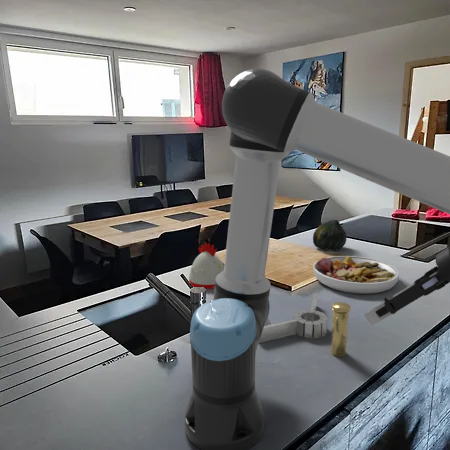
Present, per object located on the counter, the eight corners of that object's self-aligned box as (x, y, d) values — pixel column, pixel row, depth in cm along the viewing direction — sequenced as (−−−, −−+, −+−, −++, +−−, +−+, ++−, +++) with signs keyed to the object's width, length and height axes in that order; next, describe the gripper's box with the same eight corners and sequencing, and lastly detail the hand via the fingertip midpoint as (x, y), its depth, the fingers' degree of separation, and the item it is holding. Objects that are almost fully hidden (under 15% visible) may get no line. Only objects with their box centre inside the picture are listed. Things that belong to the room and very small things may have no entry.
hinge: (324, 352, 100) (324, 338, 99) (256, 342, 105) (256, 329, 104) (329, 307, 126) (330, 295, 125) (274, 301, 131) (275, 289, 130)
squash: (305, 233, 193) (317, 215, 182) (332, 232, 198) (345, 214, 186) (314, 258, 186) (328, 241, 174) (342, 256, 190) (357, 239, 178)
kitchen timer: (210, 292, 139) (209, 251, 136) (181, 283, 147) (180, 244, 144) (233, 280, 150) (233, 241, 146) (205, 272, 158) (204, 236, 154)
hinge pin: (347, 359, 97) (350, 310, 94) (328, 356, 99) (331, 308, 96) (347, 349, 102) (350, 303, 99) (329, 347, 103) (332, 301, 100)
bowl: (384, 268, 161) (385, 249, 159) (410, 298, 132) (412, 276, 130) (308, 266, 164) (309, 248, 162) (318, 296, 135) (319, 274, 133)
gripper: (457, 296, 66) (366, 345, 80) (498, 261, 82) (417, 307, 96) (427, 259, 68) (343, 312, 82) (473, 232, 85) (397, 280, 99)
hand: (383, 309), depth 89 cm, fingers open, 13 cm apart
